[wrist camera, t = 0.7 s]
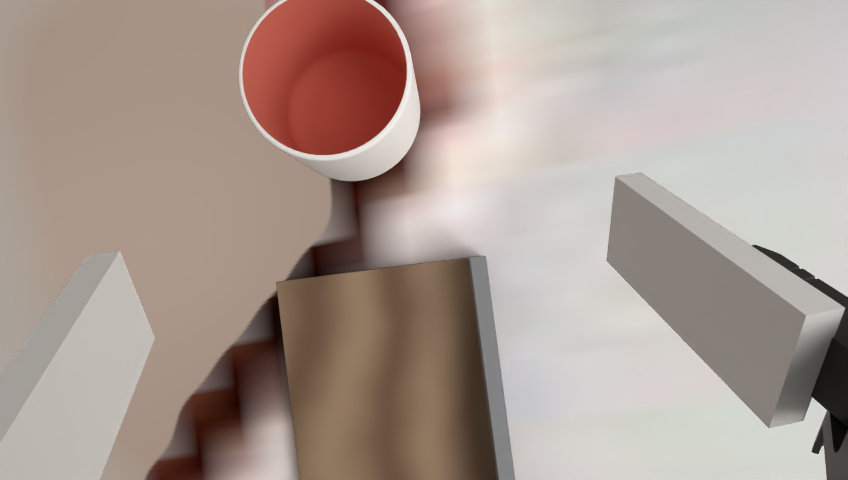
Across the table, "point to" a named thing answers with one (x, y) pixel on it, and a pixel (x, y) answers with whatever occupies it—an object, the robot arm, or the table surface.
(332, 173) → the cup
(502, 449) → the pen walls
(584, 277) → the table surface
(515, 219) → the table surface
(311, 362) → the pen base
